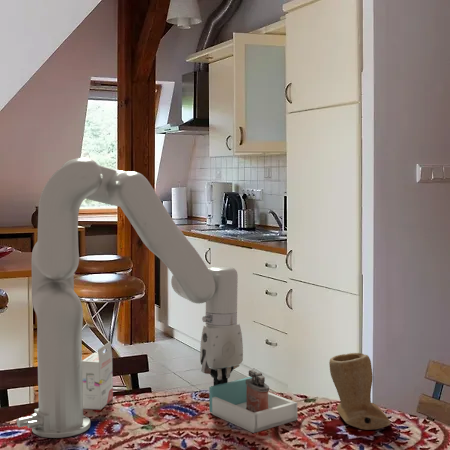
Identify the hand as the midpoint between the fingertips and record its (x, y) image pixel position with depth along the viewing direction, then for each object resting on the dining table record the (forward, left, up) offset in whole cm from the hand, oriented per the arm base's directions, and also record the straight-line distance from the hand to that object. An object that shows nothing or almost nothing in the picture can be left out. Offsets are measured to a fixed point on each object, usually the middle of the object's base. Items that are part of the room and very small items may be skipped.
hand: (220, 394), depth 166 cm
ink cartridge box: (-22, +21, -4) cm, 30 cm away
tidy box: (+2, -10, -3) cm, 11 cm away
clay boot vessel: (+19, -26, -4) cm, 33 cm away
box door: (+2, -2, -3) cm, 4 cm away
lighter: (+2, -12, -3) cm, 12 cm away
